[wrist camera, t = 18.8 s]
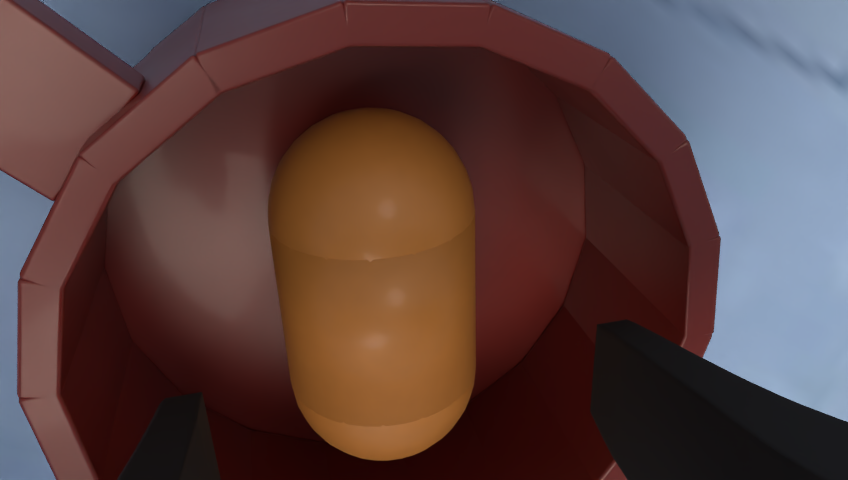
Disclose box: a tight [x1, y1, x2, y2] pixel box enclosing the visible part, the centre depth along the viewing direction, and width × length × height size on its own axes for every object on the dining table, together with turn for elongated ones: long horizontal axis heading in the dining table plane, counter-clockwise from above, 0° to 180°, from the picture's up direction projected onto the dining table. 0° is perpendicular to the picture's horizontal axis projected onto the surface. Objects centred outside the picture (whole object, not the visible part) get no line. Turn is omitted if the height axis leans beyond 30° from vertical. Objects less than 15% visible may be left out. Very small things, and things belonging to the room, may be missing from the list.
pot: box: [0, 0, 721, 480], centre depth 16 cm, size 13×19×5 cm
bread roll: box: [268, 108, 476, 461], centre depth 17 cm, size 8×4×4 cm, turn 2°
